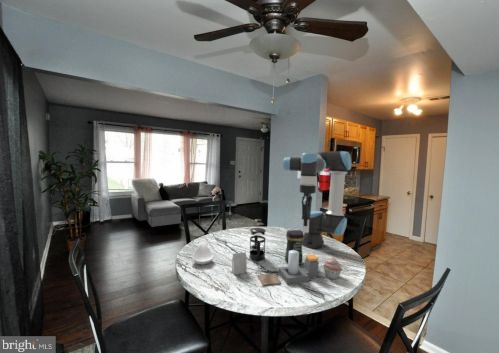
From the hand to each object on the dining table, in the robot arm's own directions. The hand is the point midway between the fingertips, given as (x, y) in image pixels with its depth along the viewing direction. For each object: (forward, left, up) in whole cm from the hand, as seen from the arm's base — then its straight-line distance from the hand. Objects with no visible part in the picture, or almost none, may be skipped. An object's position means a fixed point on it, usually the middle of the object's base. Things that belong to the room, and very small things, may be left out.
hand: (305, 232), depth 115 cm
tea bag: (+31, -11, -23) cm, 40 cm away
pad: (+18, 0, -23) cm, 29 cm away
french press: (+17, -26, -23) cm, 39 cm away
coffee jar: (-2, -16, -23) cm, 28 cm away
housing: (+2, 0, -23) cm, 23 cm away
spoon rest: (+48, -32, -23) cm, 62 cm away
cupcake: (-14, +3, -23) cm, 27 cm away
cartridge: (+6, 0, -23) cm, 24 cm away
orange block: (-4, 0, -19) cm, 20 cm away
